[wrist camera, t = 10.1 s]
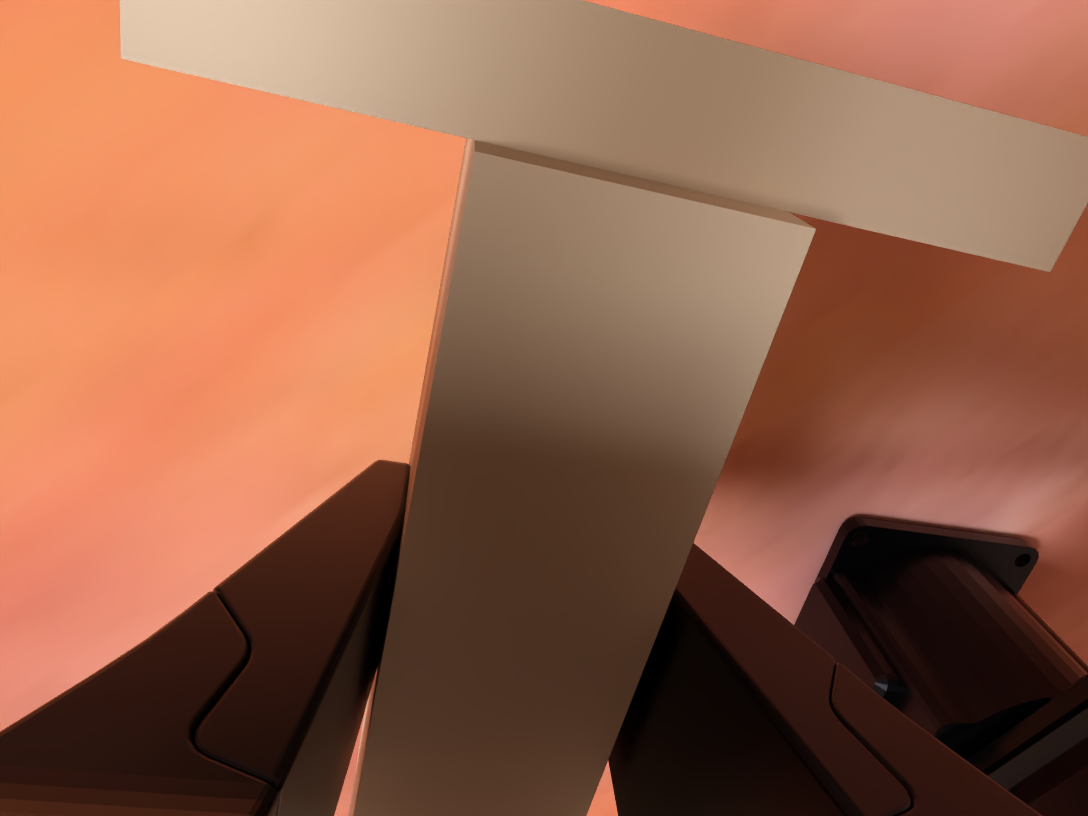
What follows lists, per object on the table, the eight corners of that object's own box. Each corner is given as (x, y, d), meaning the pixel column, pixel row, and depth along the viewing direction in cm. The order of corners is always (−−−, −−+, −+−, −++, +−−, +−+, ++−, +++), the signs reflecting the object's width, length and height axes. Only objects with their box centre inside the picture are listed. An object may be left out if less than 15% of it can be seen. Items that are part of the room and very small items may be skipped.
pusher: (890, 98, 9) (1173, 155, 5) (629, 743, 13) (684, 1003, 10) (264, -68, 7) (78, -140, 4) (220, 707, 12) (117, 987, 9)
